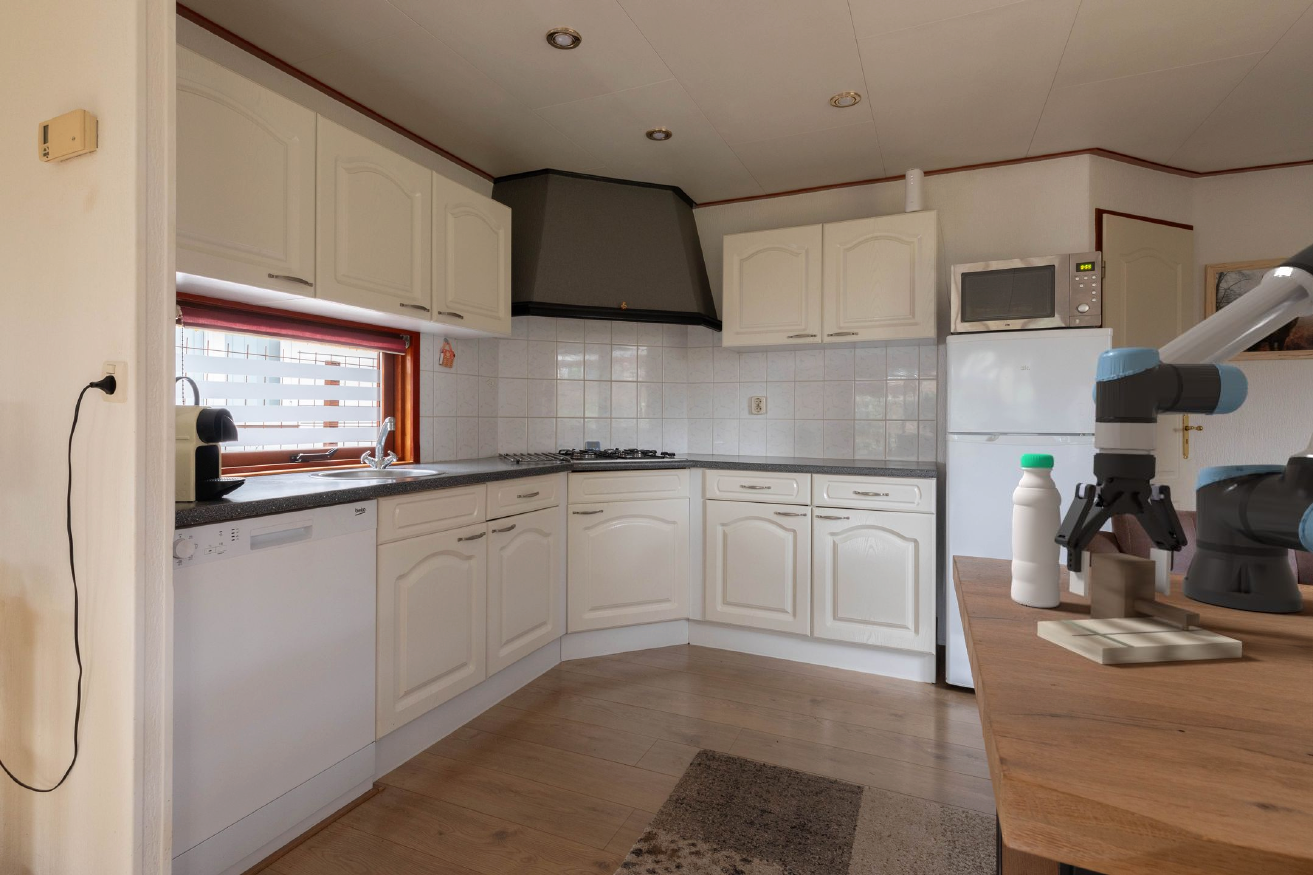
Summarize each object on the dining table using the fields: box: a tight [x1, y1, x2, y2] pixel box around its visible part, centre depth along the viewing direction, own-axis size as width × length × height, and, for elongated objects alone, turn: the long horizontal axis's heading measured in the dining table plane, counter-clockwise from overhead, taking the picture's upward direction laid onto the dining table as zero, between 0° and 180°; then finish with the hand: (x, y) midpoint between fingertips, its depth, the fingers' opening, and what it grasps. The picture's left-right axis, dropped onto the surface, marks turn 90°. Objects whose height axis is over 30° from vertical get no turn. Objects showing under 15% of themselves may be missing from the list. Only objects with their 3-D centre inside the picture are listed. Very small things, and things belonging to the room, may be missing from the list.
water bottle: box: [1010, 453, 1063, 609], centre depth 107 cm, size 7×7×25 cm
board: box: [1037, 616, 1243, 665], centre depth 86 cm, size 20×11×2 cm, turn 98°
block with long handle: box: [1090, 552, 1201, 630], centre depth 92 cm, size 5×14×10 cm, turn 8°
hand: (1119, 593), depth 96 cm, fingers open, 13 cm apart
